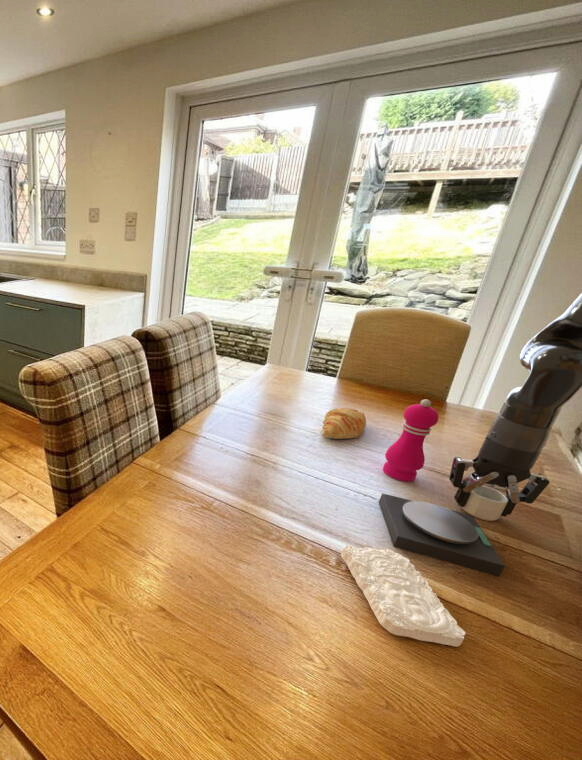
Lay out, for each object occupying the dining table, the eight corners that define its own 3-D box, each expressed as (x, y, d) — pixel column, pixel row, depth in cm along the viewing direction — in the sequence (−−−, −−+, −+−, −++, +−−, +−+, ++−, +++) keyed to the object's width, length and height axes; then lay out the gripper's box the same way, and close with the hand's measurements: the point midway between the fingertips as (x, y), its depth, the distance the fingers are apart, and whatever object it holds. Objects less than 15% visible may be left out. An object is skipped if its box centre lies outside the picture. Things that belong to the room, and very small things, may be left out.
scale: (467, 524, 80) (473, 513, 79) (499, 576, 68) (506, 564, 67) (378, 502, 86) (382, 491, 85) (393, 546, 74) (398, 534, 73)
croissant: (330, 455, 109) (352, 439, 103) (302, 427, 114) (321, 410, 108) (365, 433, 120) (386, 417, 114) (338, 408, 125) (357, 392, 119)
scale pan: (464, 513, 78) (465, 511, 78) (488, 552, 69) (489, 549, 69) (396, 497, 82) (397, 494, 82) (410, 531, 73) (411, 529, 73)
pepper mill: (388, 480, 93) (417, 404, 86) (374, 463, 100) (400, 391, 92) (424, 485, 92) (456, 408, 84) (407, 467, 98) (436, 394, 91)
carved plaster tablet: (401, 561, 71) (407, 548, 70) (466, 650, 56) (475, 634, 55) (336, 552, 72) (341, 539, 71) (383, 636, 58) (390, 621, 57)
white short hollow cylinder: (490, 508, 85) (500, 489, 83) (503, 525, 80) (514, 506, 78) (455, 499, 87) (464, 481, 85) (465, 516, 82) (475, 497, 80)
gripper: (554, 440, 77) (516, 508, 83) (459, 423, 83) (431, 489, 89) (578, 459, 71) (535, 532, 77) (474, 440, 76) (442, 509, 83)
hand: (479, 508), depth 83 cm, fingers closed on white short hollow cylinder, 6 cm apart
